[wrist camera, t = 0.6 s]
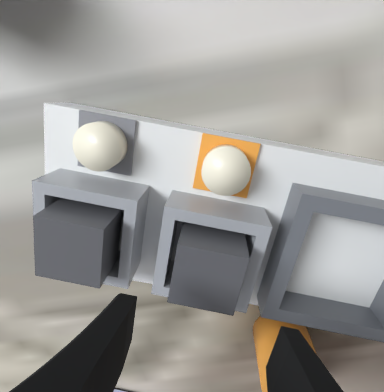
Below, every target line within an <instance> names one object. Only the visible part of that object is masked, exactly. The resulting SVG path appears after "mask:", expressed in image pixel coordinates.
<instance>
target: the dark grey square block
mask: <svg viewBox="0 0 384 392" xmlns="http://www.w3.org/2000/svg"><path fill="white" fill-rule="evenodd" d="M249 260H250V257H249V252H248V247H247V242H246V237H245V234H243V233H238V232H233V231H228V230H223V229H218V228H213V227H208V226H203V225H198V224H192V223H187V222H183V226H182V229H181V233H180V237H179V240H178V244H177V249H176V255H175V261H174V266H173V272H172V278H171V283H170V289H169V295H168V300H167V302H169V303H174V304H178V305H183V306H188V307H193V308H198V309H203V310H208V311H213V312H218V313H223V314H227V315H232V316H233V315H234V312H235V308H236V305H237V301H238V298H239V294H240V291H241V287H242V284H243V280H244V277H245V273H246V270H247V267H248V263H249Z"/></svg>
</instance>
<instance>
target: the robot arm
mask: <svg viewBox="0 0 384 392" xmlns="http://www.w3.org/2000/svg"><path fill="white" fill-rule="evenodd" d="M136 301H137V296H132V295H127V294H122V293H120V294H118V295H117V296H116V297H115V298H114V299H113V300H112V302H111V303H110V304H109V305H108V306H107V307H106V308H105V309H104V310H103V311H102V312H101V313H100V314H99V315H98V316H97V317H96V318H95V319H94V320H93V321H92V322H91V323H90V324H89V325H88V326H87V327H86V328H85V329H84V330H83V331H82V332H81V333H80V334H79V335H78V336H77V337H76V338H74V339H73V340H72V341H71V342H70V343H69V344H68V345H67V346H65V347H64V348H63V349H62V350H61V351H60V352H59V353H57V354H56V355H55V356H54V357H53V358H52V359H50V360H49V361H48V362H47V363H46V364H44V365H43V366H42V367H41V368H39V369H38V370H37V371H36V372H34V373H33V374H32V375H31V376H29V377H28V378H27V379H25V380H24V381H23V382H21V383H20V384H19V385H18V386H16V387H15V388H14V389H12V390H11V391H9V392H126V391H121V390H117V389H115V386H116V384H117V381H118V379H119V377H120V374H121V372H122V369H123V366H124V363H125V360H126V356H127V353H128V350H129V347H130V343H131V340H132V333H133V325H134V317H135V309H136ZM266 379H267V391H268V392H343V390H342V389H341V388H340V386H339V385H338V384H337V382H336V381H335V380H334V378H333V377H332V376H331V374H330V373H329V371H328V370H327V369H326V367H325V366H324V364H323V363H322V362H321V360H320V359H319V358H318V356H317V355H316V353H315V352H314V350H313V349H312V348H311V346H310V345H309V343H308V342H307V341H306V339H305V338H304V336H303V335H302V334H301V332H300V331H299V330H298V329H294V328H289V327H284V326H281V328H280V330H279V333H278V336H277V338H276V341H275V344H274V347H273V349H272V352H271V355H270V357H269V360H268V363H267V365H266Z"/></svg>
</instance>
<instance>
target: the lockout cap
mask: <svg viewBox="0 0 384 392" xmlns="http://www.w3.org/2000/svg"><path fill="white" fill-rule="evenodd" d="M281 326H284V327H289V328H294V329H298V330H299V331H300V332H301V334H302V335H303V336H304V338H305V339H306V341H307V342H308V343H309V345H310V346H311V348H312V349H313V350H314V352H315V353H316V351H315V349H314V346H313V343H312V341H311V338H310V336H309V333H308V330H307V328H306V326H301V325H296V324H291V323H286V322H281V321H276V320H272V319H267V318H262V317H261V316H260V317H259V318H258V319H257V320H256V321H255V323H254V326H253V335H254V342H255V348H256V355H257V362H258V368H259V375H260V382H261V388H262V392H268V391H267V379H266V365H267V363H268V360H269V357H270V355H271V352H272V349H273V347H274V344H275V341H276V338H277V336H278V333H279V330H280V328H281ZM316 355H317V354H316Z"/></svg>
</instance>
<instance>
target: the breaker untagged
mask: <svg viewBox="0 0 384 392" xmlns="http://www.w3.org/2000/svg"><path fill="white" fill-rule="evenodd" d="M121 217H122V210H121V209H116V208H111V207H106V206H101V205H96V204H91V203H85V202H80V201H75V200H70V199H65V198H60V199H59V200H57V201H56V202H54V203H52V204H51V205H49V206H48V207H46V208H45V209H43V210H41V211H40V212H38V213H37V214H35V215H34V216H33V225H34V254H35V275H36V276H41V277H46V278H51V279H56V280H61V281H66V282H71V283H75V284H80V285H85V286H90V287H95V288H100V287H101V286H102V284H103V282H104V281H105V279H106V278H107V276H108V274H109V273H110V271H111V270H112V268H113V266H114V265H115V263H116V261H117V260H118V250H119V239H120V228H121Z"/></svg>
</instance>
